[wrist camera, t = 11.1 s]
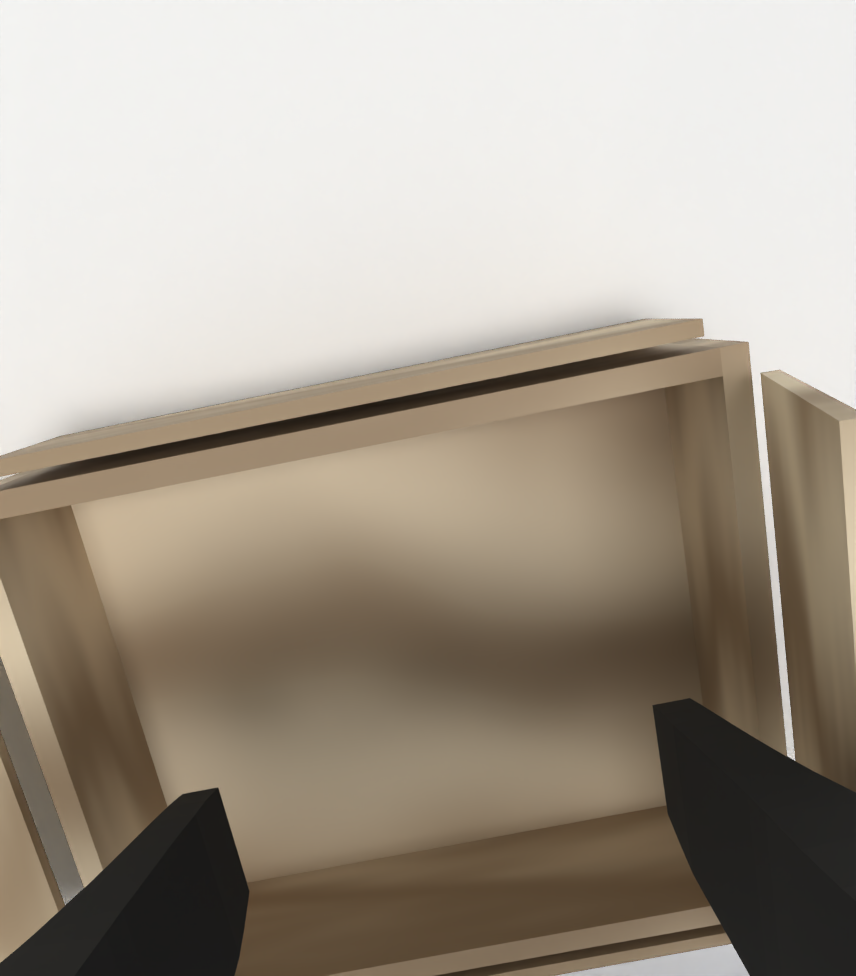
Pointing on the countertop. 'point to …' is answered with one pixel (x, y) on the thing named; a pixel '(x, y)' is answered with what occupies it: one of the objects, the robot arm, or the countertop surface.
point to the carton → (408, 644)
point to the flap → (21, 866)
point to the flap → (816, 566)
